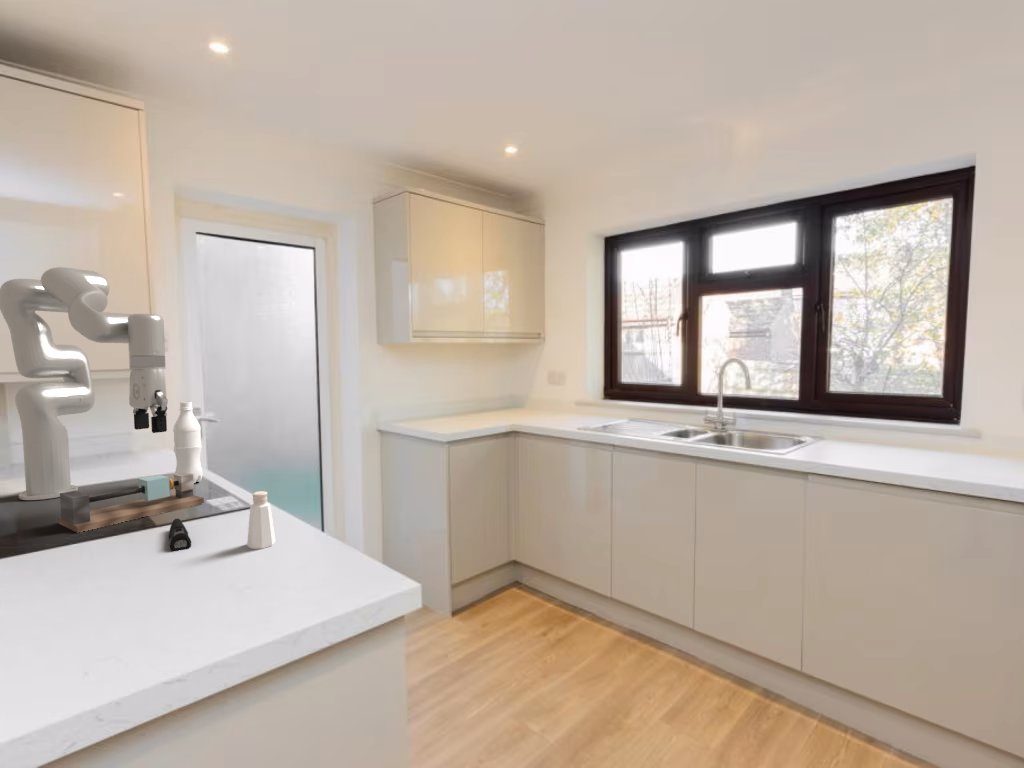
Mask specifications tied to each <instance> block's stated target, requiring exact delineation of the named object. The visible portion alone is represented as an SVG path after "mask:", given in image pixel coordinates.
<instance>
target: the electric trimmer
mask: <svg viewBox="0 0 1024 768" xmlns="http://www.w3.org/2000/svg"><path fill="white" fill-rule="evenodd" d="M168 539H170V542H169V550H170V552H174V551H175V552H178V551H179V550H180V551H185V550H189V549H190V548H191V547H192V540H191V538H190V536H189V532H188V530H187V528H186V526H185V524H184V523H183V522H182V520H181V519H180V518H175V519H173V520H172V522H171V525H170V527H169V532H168ZM180 551H179V552H180Z"/></svg>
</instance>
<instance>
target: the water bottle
mask: <svg viewBox="0 0 1024 768" xmlns="http://www.w3.org/2000/svg"><path fill="white" fill-rule="evenodd" d="M192 402H193V401H180V403H179V404H180V407H179V416H178V417H177V419H176V421H175V424H174V426H173V428H172V429H173V430H172V432H173V444H174V447H173V451H174V453H175V458H176V468H175V473H174V474H179V473H185V472H187V473H191V474H193V480H194V483H195V484H196V482H199V483H201V481H202V479H203V476H204V475H203V474H204V473H203V468H202V464H201V453H202V449H203V447H202V446H203V445H202V435H201V434H202V433H201V430H202V427H201V424H200V423H199V420H198V419H197V418H196V416H195V415H194V412H193V410H194V408H193V403H192Z"/></svg>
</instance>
